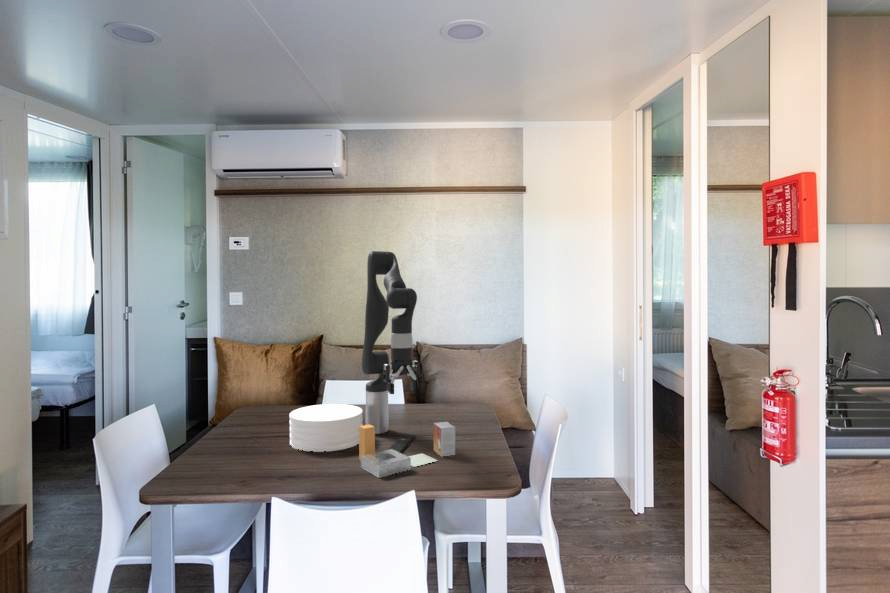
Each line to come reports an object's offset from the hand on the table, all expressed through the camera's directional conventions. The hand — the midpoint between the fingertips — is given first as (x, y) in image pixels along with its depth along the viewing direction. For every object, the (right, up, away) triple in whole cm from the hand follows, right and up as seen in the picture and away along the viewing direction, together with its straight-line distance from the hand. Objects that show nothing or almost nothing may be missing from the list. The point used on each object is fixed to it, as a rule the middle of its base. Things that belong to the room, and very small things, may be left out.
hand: (401, 392), depth 188 cm
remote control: (-2, -24, +16) cm, 29 cm away
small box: (+15, -24, +7) cm, 29 cm away
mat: (+6, -24, 0) cm, 24 cm away
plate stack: (-31, -24, +24) cm, 46 cm away
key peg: (-12, -24, 0) cm, 27 cm away
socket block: (-5, -24, -8) cm, 26 cm away
